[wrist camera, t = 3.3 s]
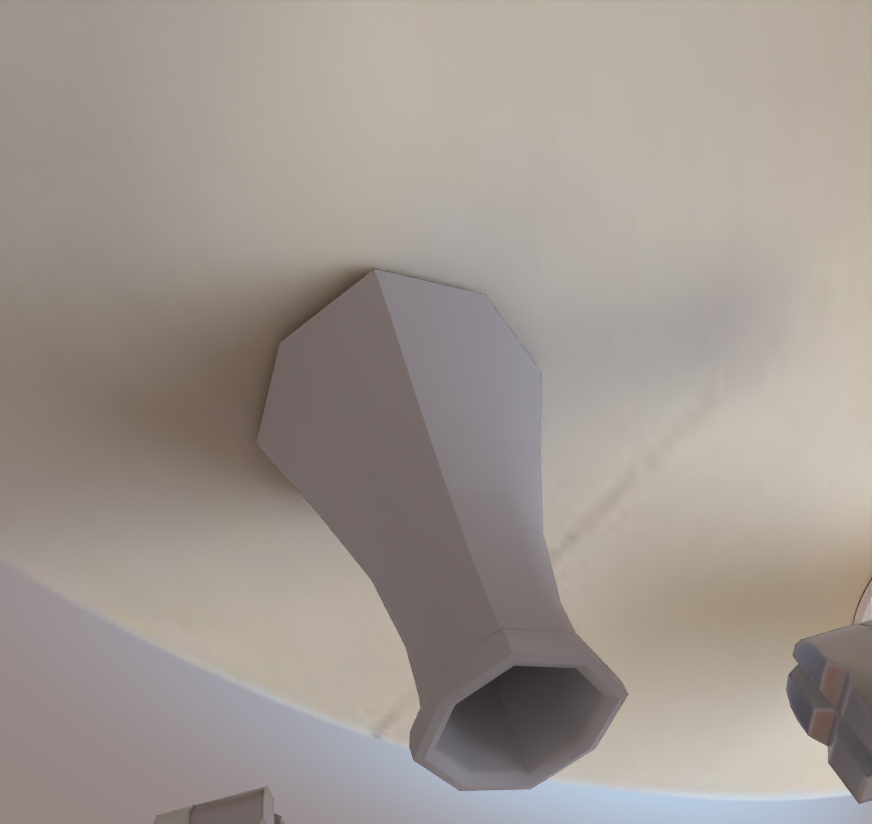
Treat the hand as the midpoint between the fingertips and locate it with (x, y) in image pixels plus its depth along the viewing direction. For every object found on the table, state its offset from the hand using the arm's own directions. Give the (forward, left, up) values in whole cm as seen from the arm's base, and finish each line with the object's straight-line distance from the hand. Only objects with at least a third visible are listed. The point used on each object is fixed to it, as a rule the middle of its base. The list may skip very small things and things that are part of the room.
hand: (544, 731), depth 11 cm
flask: (0, 0, -10) cm, 10 cm away
